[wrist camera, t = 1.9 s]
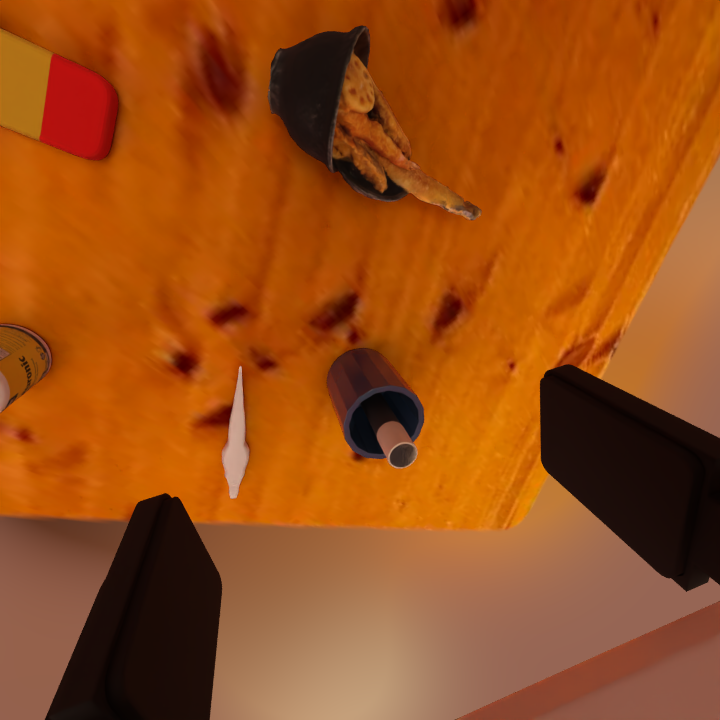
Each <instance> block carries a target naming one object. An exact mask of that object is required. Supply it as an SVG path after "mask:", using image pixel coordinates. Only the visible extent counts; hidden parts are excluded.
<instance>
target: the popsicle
mask: <svg viewBox="0 0 720 720" xmlns="http://www.w3.org/2000/svg"><path fill="white" fill-rule="evenodd" d="M117 111H118V97H117V93H116V91H115V90H114V88H113V86H112V85H111V84H110V83H109V82H108V81H107V80H106V79H104V78H103V77H102V76H100V75H98V74H97V73H95V72H93V71H91V70H89V69H87V68H85V67H83V66H80V65H78V64H76V63H74V62H72V61H70V60H68V59H65V58H63V57H61V56H59V55H57V54H55V53H53V52H50V51H48V50H46V49H44V48H42V47H40V46H38V45H35V44H33V43H31V42H29V41H27V40H25V39H23V38H20V37H18V36H16V35H14V34H12V33H10V32H7V31H5V30H3V29H1V28H0V126H2V127H5V128H7V129H10V130H12V131H15V132H18V133H20V134H23V135H25V136H28V137H30V138H33V139H35V140H38V141H40V142H43V143H46V144H48V145H51V146H53V147H56V148H58V149H61V150H63V151H66V152H68V153H71V154H73V155H76V156H79V157H82V158H85V159H89V160H101V159H103V158H105V157H106V155H107V154H108V153H109V150H110V147H111V143H112V137H113V132H114V127H115V122H116V116H117Z"/></svg>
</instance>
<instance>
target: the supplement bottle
mask: <svg viewBox="0 0 720 720" xmlns="http://www.w3.org/2000/svg"><path fill="white" fill-rule="evenodd" d="M51 361H52V358H51V353H50V350H49V348H48V346H47V344H46V343H45V342H44V341H43V340H42V339H41V338H40V337H39V336H38V335H37V334H35V333H34V332H32V331H30V330H28V329H26V328H23V327H20V326H16V325H10V324H0V413H1V412H2V411H3V410H4V409H6V408H7V407H8V406H9V405H10V404H12V403H13V402H14V401H15V400H17V399H18V398H19V397H20V396H21V395H23V394H24V393H25V392H26V391H28V390H29V389H30V388H31V387H32V386H34V385H35V384H36V383H38V382H39V381H40V380H41V379H42V378H43V377H44V376H45V375H46V374H47V373H48V371H49V369H50V367H51Z"/></svg>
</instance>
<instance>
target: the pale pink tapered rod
mask: <svg viewBox="0 0 720 720" xmlns="http://www.w3.org/2000/svg"><path fill="white" fill-rule="evenodd" d="M245 434H246V425H245V411H244V396H243V386H242V367H241V366H240V367H239V375H238V381H237V387H236V391H235V396H234V403H233V408H232V412H231V417H230V423H229V431H228V442H227V443H226V445H225V446H224V448H223V450H222V463H223V465H224V469H225V477H226V478H227V481H228V484H229V494H230V498H231V499H234V498H237V495H238V493H239V485H240V483H241V480H242V478H243V477H244V475H245V468H246V466H247V463H248V461H249V453H250V450H249V447H248V445H247V443H246V442H245Z"/></svg>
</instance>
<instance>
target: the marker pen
mask: <svg viewBox="0 0 720 720" xmlns="http://www.w3.org/2000/svg"><path fill="white" fill-rule="evenodd" d="M360 404H361V406H362V408H363V410H364V412H365V414H366V416H367V418H368V420H369V422H370V424H371V426H372V428H373V430H374V432H375V434H376V436H377V440H378V442H379V444H380V446H381V448H382V450H383V452H384V454H385V456H386V458H387V460H388V462H389V464H390V465H391V466H393V467H395V468H405V467H407V466H409V465H411V464H412V463H413V462H414V461H415V459H416V457H417V448H416V446H415V445H414V443H413V442H412V440H411V438H410V437H409V435H408V434H407V432H406V431H405V429H404V427H403V426H402V425H401V424H400V422H399V421H398V419H397V418H396V416H395V414H394V413H393V411H392V410H391V408H390V407H389V405H388V403H387V402H386V400H385V399H384V397H383V396H382V394H381V392H380V393H376V394H373V395H372V396H370V397H369V398H367V399H365V400H364V401H362V402H361V403H360Z"/></svg>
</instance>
